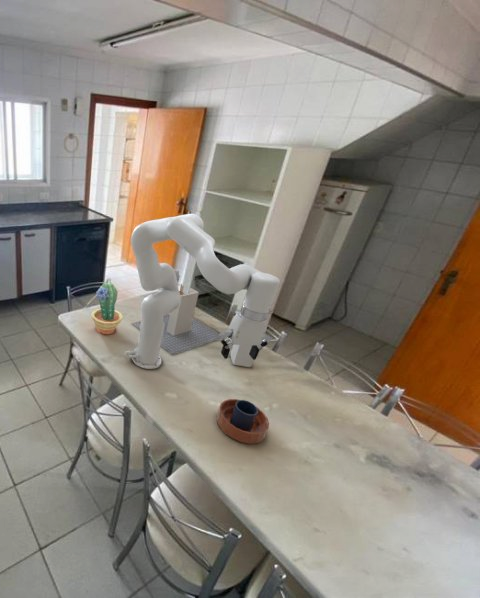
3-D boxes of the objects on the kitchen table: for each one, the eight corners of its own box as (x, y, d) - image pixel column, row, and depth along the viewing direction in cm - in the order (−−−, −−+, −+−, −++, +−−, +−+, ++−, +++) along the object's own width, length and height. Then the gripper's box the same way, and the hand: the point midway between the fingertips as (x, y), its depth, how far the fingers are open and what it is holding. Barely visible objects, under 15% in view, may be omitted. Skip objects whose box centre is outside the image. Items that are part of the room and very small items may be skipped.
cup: (235, 433, 108) (241, 415, 104) (226, 417, 114) (232, 399, 110) (255, 433, 108) (262, 415, 105) (245, 417, 114) (251, 400, 111)
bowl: (228, 445, 104) (232, 433, 102) (209, 409, 118) (212, 398, 116) (273, 444, 105) (278, 433, 103) (249, 409, 119) (253, 399, 116)
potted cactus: (86, 323, 168) (89, 278, 157) (114, 320, 172) (118, 276, 161) (96, 339, 155) (100, 291, 144) (126, 335, 159) (132, 289, 148)
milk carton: (250, 367, 141) (263, 330, 133) (233, 365, 142) (245, 327, 134) (246, 358, 147) (258, 321, 139) (229, 355, 148) (241, 319, 140)
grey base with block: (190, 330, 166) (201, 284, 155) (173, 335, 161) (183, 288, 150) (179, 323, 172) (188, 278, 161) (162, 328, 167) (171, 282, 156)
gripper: (274, 307, 105) (257, 350, 113) (221, 305, 104) (208, 349, 112) (288, 319, 98) (269, 364, 106) (232, 317, 97) (217, 363, 105)
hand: (238, 356), depth 109 cm, fingers open, 9 cm apart
